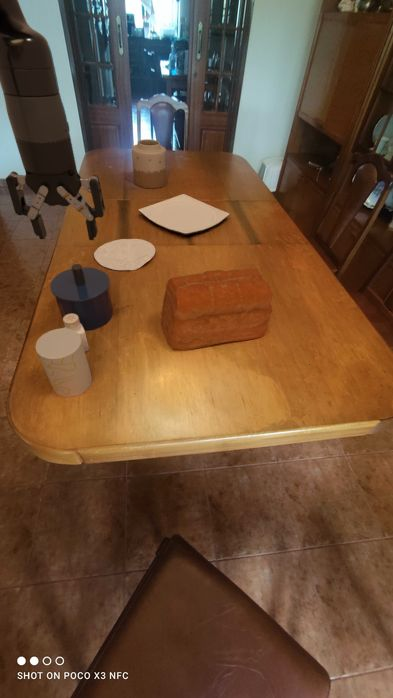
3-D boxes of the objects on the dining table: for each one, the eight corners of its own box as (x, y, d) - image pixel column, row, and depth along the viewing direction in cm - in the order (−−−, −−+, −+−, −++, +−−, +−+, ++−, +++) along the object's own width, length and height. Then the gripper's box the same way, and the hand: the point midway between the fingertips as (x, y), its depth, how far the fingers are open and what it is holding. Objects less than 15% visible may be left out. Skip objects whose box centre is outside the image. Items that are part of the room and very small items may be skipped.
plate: (133, 216, 126) (132, 209, 124) (183, 198, 141) (183, 192, 139) (185, 243, 113) (185, 236, 112) (233, 220, 129) (234, 214, 127)
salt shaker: (90, 351, 75) (82, 320, 68) (73, 356, 74) (63, 326, 67) (85, 340, 77) (77, 310, 71) (68, 345, 76) (58, 315, 69)
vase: (170, 180, 155) (170, 140, 143) (159, 191, 145) (159, 149, 133) (141, 175, 158) (139, 135, 146) (128, 185, 147) (125, 144, 135)
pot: (67, 336, 78) (57, 305, 71) (58, 305, 86) (49, 275, 79) (118, 323, 82) (113, 293, 75) (105, 295, 90) (100, 266, 83)
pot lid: (56, 309, 71) (49, 289, 67) (47, 276, 79) (40, 256, 75) (116, 296, 76) (114, 276, 72) (102, 266, 84) (99, 247, 80)
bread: (270, 337, 82) (286, 290, 72) (170, 354, 76) (171, 305, 65) (250, 304, 91) (261, 258, 81) (158, 317, 85) (157, 268, 74)
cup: (44, 392, 66) (26, 353, 58) (65, 363, 72) (50, 324, 63) (80, 401, 65) (67, 363, 57) (98, 371, 71) (88, 333, 62)
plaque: (167, 251, 108) (167, 247, 107) (127, 278, 96) (127, 274, 95) (123, 235, 116) (123, 231, 115) (81, 259, 104) (80, 255, 103)
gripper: (-21, 136, 42) (21, 247, 54) (88, 141, 44) (106, 249, 55) (-2, 123, 47) (32, 227, 59) (96, 127, 49) (110, 228, 61)
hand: (68, 237), depth 57 cm, fingers open, 8 cm apart
